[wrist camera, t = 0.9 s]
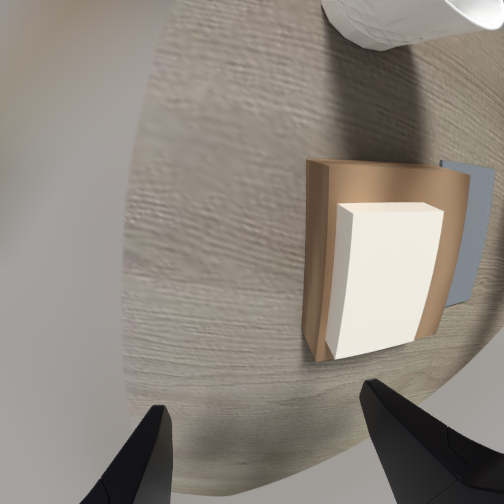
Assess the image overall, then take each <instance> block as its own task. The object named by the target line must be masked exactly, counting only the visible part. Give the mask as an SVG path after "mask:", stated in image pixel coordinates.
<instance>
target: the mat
mask: <svg viewBox="0 0 504 504" xmlns="http://www.w3.org/2000/svg"><path fill="white" fill-rule="evenodd" d="M440 167H442V168H446V169H450V170H454V171H458V172H461V173H465V174H469V175H470V186H469V196H468V204H467V211H466V218H465V224H464V230H463V236H462V241H461V246H460V251H459V255H458V260H457V264H456V268H455V272H454V276H453V280H452V284H451V288H450V291H449V295H448V298H447V301H446V305H445V307H446V306H450V305H453V304H457V303H460V302H464V301H467V300H469V299H470V296H471V292H472V289H473V286H474V283H475V279H476V275H477V272H478V268H479V264H480V260H481V256H482V252H483V247H484V243H485V238H486V233H487V228H488V222H489V216H490V210H491V203H492V195H493V186H494V175H495V169H491V168H486V167H480V166H475V165H469V164H463V163H456V162H450V161H442V160H440Z"/></svg>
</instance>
